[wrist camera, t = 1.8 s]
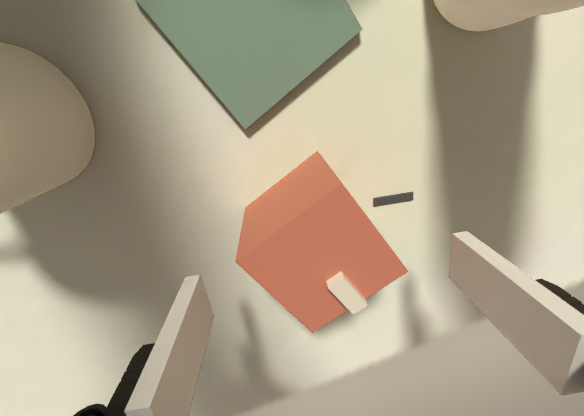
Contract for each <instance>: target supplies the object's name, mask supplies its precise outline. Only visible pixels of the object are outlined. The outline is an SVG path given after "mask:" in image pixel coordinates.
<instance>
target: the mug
mask: <svg viewBox="0 0 584 416" xmlns="http://www.w3.org/2000/svg"><path fill="white" fill-rule="evenodd" d="M94 147H95V130H94V123H93V120H92V117H91V114H90V111H89V108H88V106H87V104H86V102H85V101H84V99H83V97H82V95H81V93H80V92H79V91H78V90H77V88H76V87H75V86H74V84H73V83H72V82H71V80H70V79H68V78H67V77H66V76H65V75H64V74H63V73H62V72H61V71H60V70H59V69H58V68H57V67H55V66H54V65H53V64H51V63H50V62H48V61H47V60H46V59H44V58H43V57H41V56H39V55H37V54H35V53H33V52H31V51H29V50H27V49H24V48H21V47H18V46H15V45H12V44H7V43H0V214H1V213H3V212H5V211H7V210H9V209H11V208H14V207H16V206H18V205H20V204H22V203H24V202H26V201H28V200H30V199H32V198H34V197H37V196H39V195H41V194H43V193H45V192H47V191H49V190H51V189H53V188H55V187H57V186H59V185H62V184H64V183H66V182H68V181H69V180H71V179H73V178H75V177H77V176H78V175H79V174H80V173H81V172H82V171H83V170H84V169H85V168H86V166H87V165H88V163H89V161H90V160H91V157H92V154H93V151H94Z"/></svg>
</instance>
